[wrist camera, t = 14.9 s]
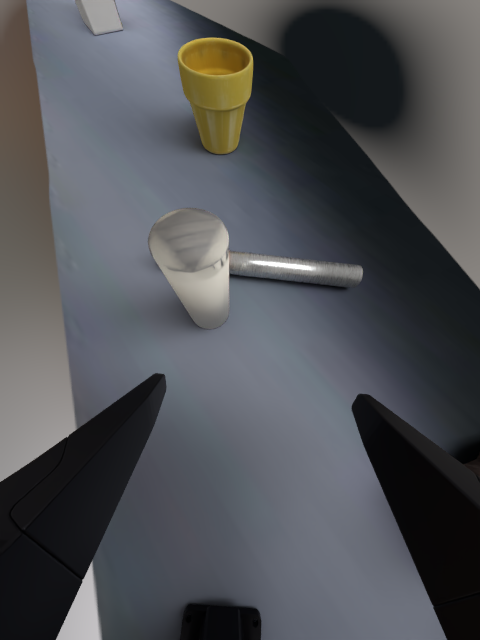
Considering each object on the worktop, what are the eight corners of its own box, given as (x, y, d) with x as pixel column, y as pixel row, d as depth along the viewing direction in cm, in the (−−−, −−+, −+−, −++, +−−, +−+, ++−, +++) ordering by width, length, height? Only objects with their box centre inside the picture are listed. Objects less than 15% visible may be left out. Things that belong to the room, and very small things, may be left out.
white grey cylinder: (226, 331, 23) (223, 277, 11) (187, 327, 23) (138, 268, 11) (231, 295, 25) (232, 212, 12) (194, 291, 25) (158, 203, 12)
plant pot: (180, 137, 34) (161, 46, 25) (225, 119, 36) (223, 29, 27) (213, 170, 32) (206, 84, 22) (258, 148, 34) (269, 62, 25)
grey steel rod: (349, 293, 26) (367, 280, 22) (164, 272, 25) (154, 256, 22) (347, 271, 27) (364, 255, 23) (169, 251, 26) (160, 232, 23)
